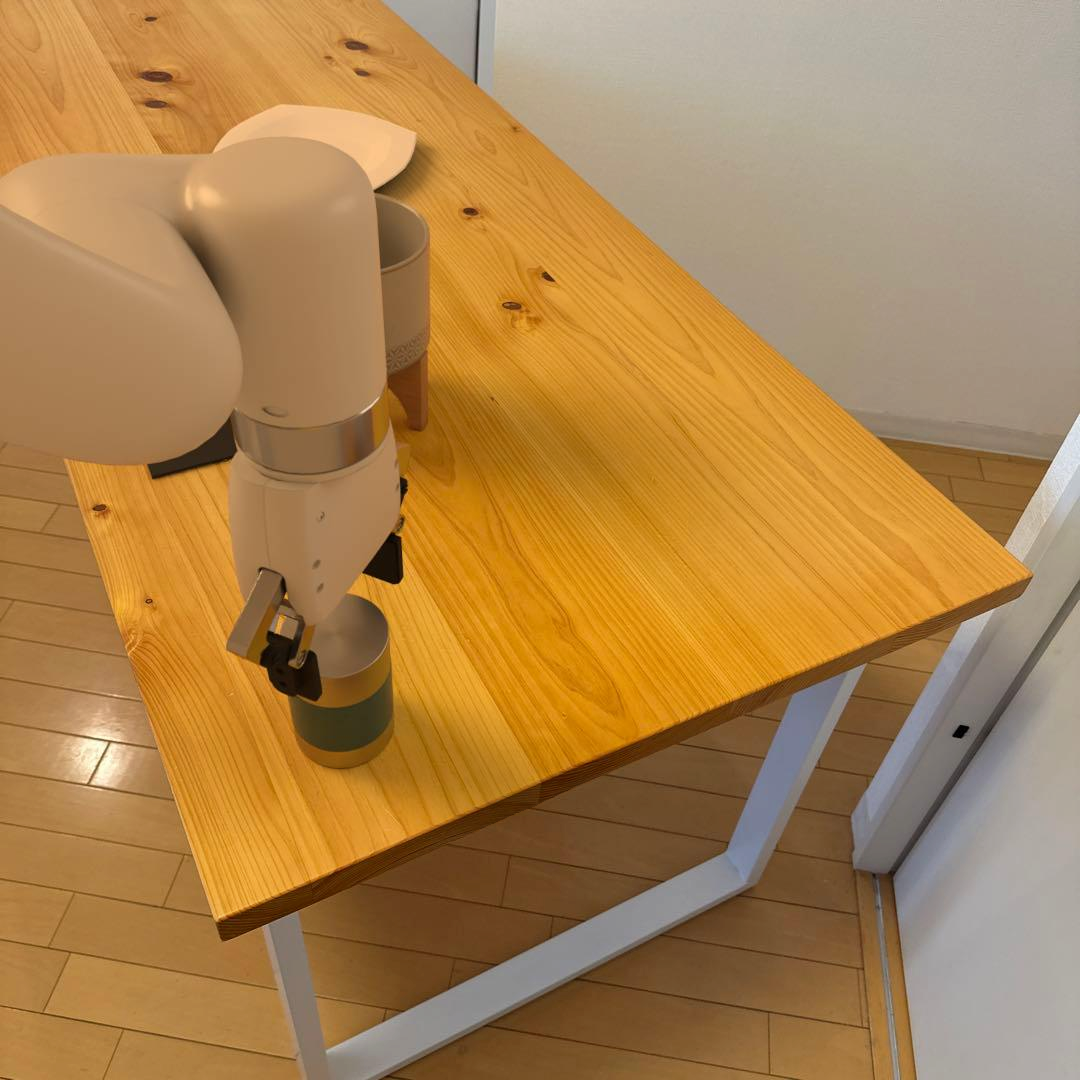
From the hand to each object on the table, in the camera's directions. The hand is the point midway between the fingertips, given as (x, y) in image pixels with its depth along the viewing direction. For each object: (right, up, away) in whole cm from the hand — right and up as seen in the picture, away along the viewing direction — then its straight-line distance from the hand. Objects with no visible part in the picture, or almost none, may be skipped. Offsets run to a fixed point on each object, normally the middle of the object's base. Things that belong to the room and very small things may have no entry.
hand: (340, 629), depth 61 cm
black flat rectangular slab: (-20, +17, +28) cm, 39 cm away
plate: (-15, +51, +62) cm, 82 cm away
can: (-1, -7, +7) cm, 10 cm away
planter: (-4, +17, +31) cm, 35 cm away
